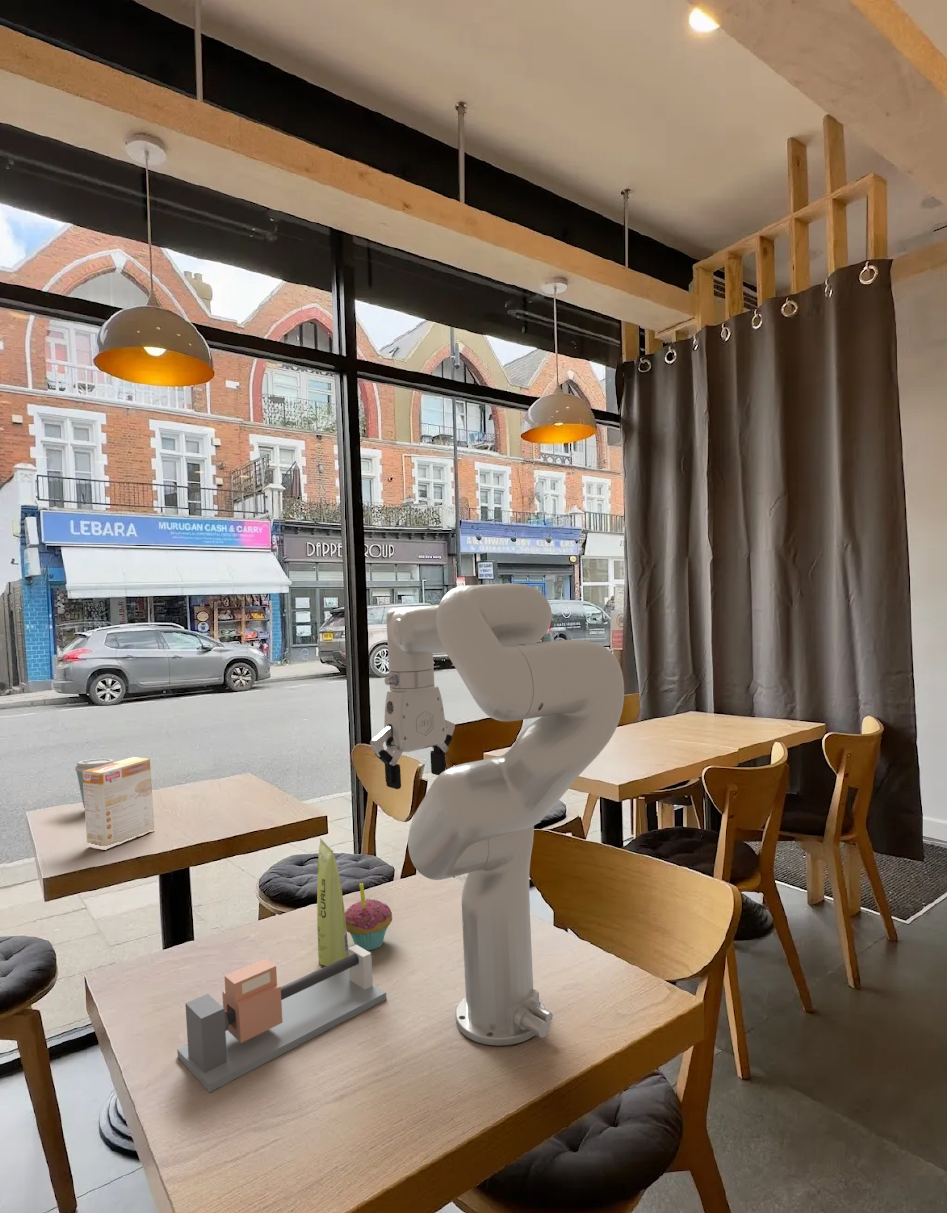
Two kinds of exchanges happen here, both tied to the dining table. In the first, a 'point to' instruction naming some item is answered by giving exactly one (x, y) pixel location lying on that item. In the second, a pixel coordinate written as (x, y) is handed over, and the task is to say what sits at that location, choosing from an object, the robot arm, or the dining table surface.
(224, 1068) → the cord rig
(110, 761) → the disposable coffee cup
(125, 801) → the coffeecake box
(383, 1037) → the dining table surface
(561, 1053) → the dining table surface
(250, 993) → the sleeve
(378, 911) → the cupcake
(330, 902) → the tube
